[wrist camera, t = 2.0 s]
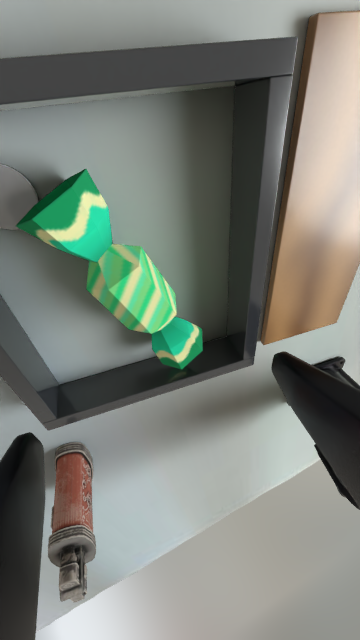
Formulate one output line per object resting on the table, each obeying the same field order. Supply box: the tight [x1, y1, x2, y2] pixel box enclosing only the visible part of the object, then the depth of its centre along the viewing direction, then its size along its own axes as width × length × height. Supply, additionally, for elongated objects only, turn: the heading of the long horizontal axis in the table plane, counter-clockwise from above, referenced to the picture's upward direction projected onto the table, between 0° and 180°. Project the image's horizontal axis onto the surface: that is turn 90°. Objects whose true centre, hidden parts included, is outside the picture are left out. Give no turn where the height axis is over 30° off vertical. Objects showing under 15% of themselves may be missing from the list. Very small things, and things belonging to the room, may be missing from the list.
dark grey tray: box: [0, 37, 298, 430], centre depth 15 cm, size 16×18×3 cm
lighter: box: [48, 442, 96, 602], centre depth 23 cm, size 8×3×10 cm, turn 175°
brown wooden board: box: [261, 10, 360, 345], centre depth 18 cm, size 8×20×1 cm, turn 6°
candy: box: [16, 169, 203, 369], centre depth 15 cm, size 12×3×4 cm
